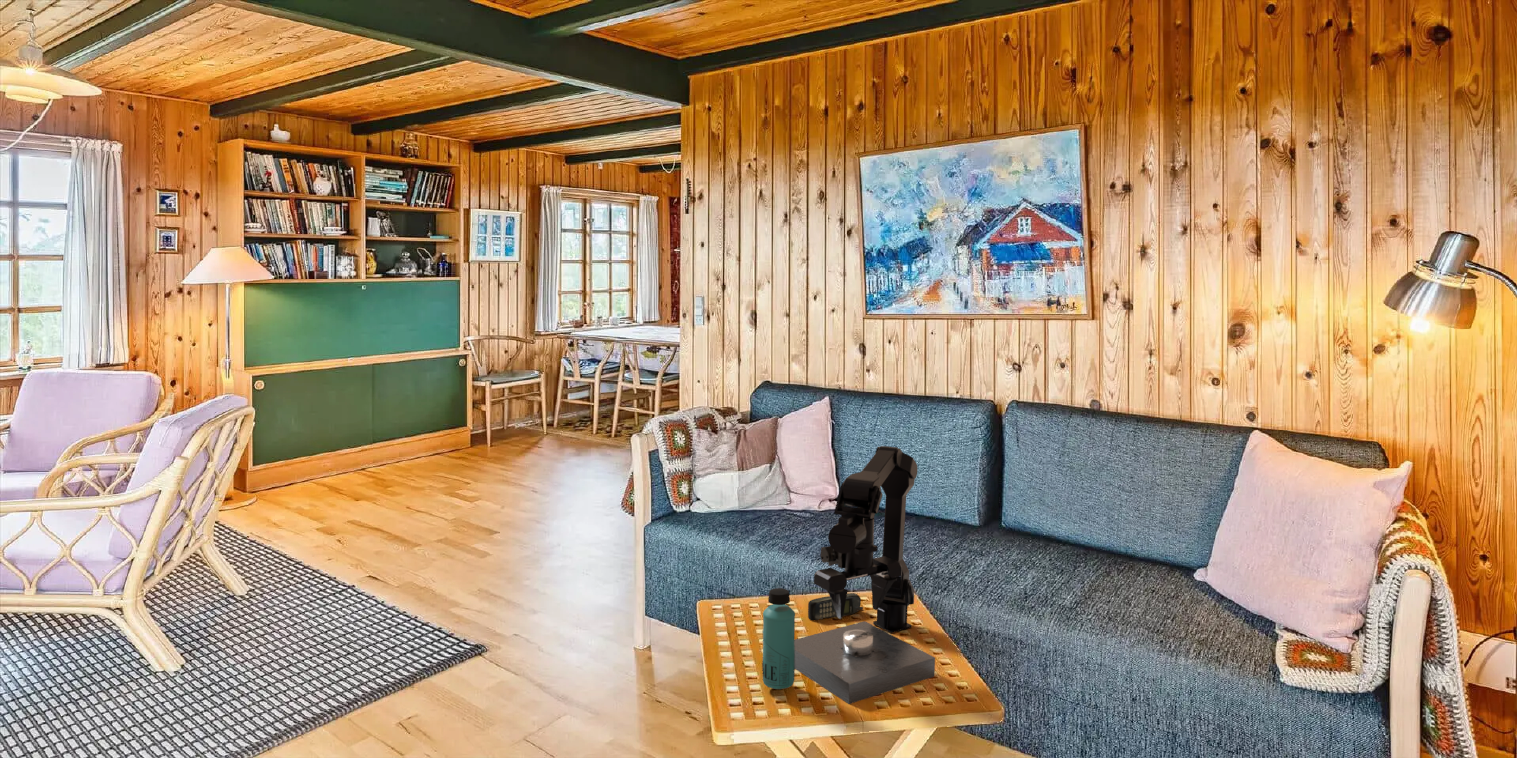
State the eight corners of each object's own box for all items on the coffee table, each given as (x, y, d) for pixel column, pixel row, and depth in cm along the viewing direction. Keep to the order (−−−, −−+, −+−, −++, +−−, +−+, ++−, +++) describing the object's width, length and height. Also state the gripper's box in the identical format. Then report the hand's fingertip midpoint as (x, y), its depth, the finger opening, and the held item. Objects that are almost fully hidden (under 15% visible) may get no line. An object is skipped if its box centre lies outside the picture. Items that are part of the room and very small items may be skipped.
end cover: (859, 659, 185) (860, 626, 184) (878, 670, 180) (879, 636, 179) (836, 666, 181) (837, 632, 180) (855, 677, 176) (856, 643, 175)
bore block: (864, 638, 196) (864, 621, 195) (934, 676, 177) (935, 657, 177) (782, 660, 184) (783, 642, 183) (849, 704, 165) (849, 684, 165)
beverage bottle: (799, 684, 173) (800, 586, 171) (789, 699, 167) (790, 598, 165) (767, 679, 175) (768, 582, 173) (756, 694, 169) (757, 593, 167)
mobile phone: (811, 603, 204) (867, 592, 210) (805, 598, 207) (860, 588, 213) (811, 623, 205) (867, 612, 211) (805, 619, 207) (860, 608, 214)
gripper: (869, 523, 189) (867, 593, 191) (798, 536, 179) (797, 610, 181) (904, 536, 180) (902, 609, 182) (831, 551, 170) (830, 628, 172)
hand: (857, 613), depth 179 cm, fingers open, 9 cm apart
